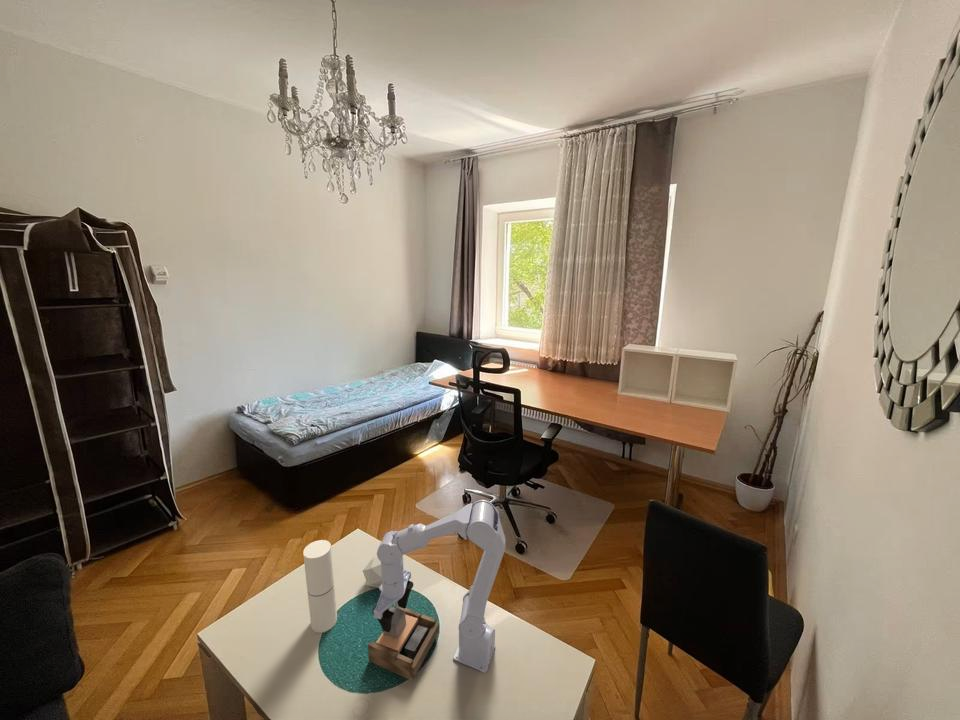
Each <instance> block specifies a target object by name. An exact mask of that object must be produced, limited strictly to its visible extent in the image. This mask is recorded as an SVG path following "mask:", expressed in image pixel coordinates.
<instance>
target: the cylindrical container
mask: <svg viewBox="0 0 960 720" xmlns="http://www.w3.org/2000/svg"><path fill="white" fill-rule="evenodd" d="M332 553H333V552H332V544H331V543H330V541H328V540H326V539H319V540H315V541H312V542H310V543H308V544H307V545H306V546H305V547H304V549H303V553H302V554H303V563H304V572H305V580H306V581H305V582H306V590H307V600H308V608H309V618H310V627H311V630H312V631H313V632H314V633H319V634H321V633H327V632H328V631H330V630H331V629H332V628H333V627H334V626H335V625H336V623H337V620H338V613H337V601H336V591H335V590H336V589H335V588H336V587H335V577H334V566H333V565H334V564H333V554H332Z"/></svg>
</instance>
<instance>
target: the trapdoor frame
mask: <svg viewBox="0 0 960 720" xmlns="http://www.w3.org/2000/svg"><path fill="white" fill-rule="evenodd" d="M394 608H397V609H400V610H403V611H405V614H406V615H409V616H412V617H415V618H418V623H417V624H416V626H415V628H414V630H413V631H415V630H416V628H417V626H418V625H419V626H422V627H425V628H428V635H427V637H426V639H425V641H424V642H423V644H422V646H421V648H420V650H419V651H418V653H417V655H416V657H415V658H414V657H413V659H412V658H410V657H409V656H407V655H403V654H401V653H400V652H399V653H398V652H394V651H392V650H389V649H387V648H385V647H383V646H380V645H378V644H376V642H373V641H372V640H370V641H369V643H367V650H368V653H367V654H368V662H371V663H372V664H375V665H377V666H379V667H381V668H383V669H385V670H387V671H390V672H391V673H393V674H397V675H399V676H401V677H403V678H405V679H407V680H409V681H412V680H413V678H416V675H417V674H418V672H419V669H420V668H421V666H422V664H423V663H424V660H425V659H426V657H427V656H428V654H429V651H430V650H431V648H432V646H433V644H434V642H435V640H436V638H437V636H439V635H438V634H439V633H440V623H439V622H437V621H436V619H435V618H433V617H431V616H427V615H425V614H424V613H422V612H421V613H420V612H417V611H415V610H413V609H410V608H407V607H406V608H405V609H404V608H401V607H399V606H398V603H397V604H396V603H395V605H394Z"/></svg>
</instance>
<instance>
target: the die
mask: <svg viewBox="0 0 960 720" xmlns="http://www.w3.org/2000/svg"><path fill="white" fill-rule="evenodd" d="M362 572H363V576H364V579H365V581H366V584H367V586H369V587H373V588H378V589H379V588H380V586H381V585H382V575H381V561H380V560H379V559H378V557H377V556H373V557H372V558H371V559H370V561H369V562H368V563H367V565H366V566H365V567H364V568H363V569H362Z"/></svg>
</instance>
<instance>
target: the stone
mask: <svg viewBox="0 0 960 720" xmlns="http://www.w3.org/2000/svg"><path fill="white" fill-rule="evenodd" d="M394 607H395V606H394ZM394 607H393V606H390V607H389V608H388V609H389V611H391V612H394V615H393V617H392V621H391V630H390V632H389V633H388V632H386V631H383V630H382V633H383V634H385V635H388V636H391V637H393V638H396V639H397V638H398V637H399V635H400V634H401V632H402V631H403V629H404V627H405V626H406V617H405V611H403V610H400V609H397V608H394Z"/></svg>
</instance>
